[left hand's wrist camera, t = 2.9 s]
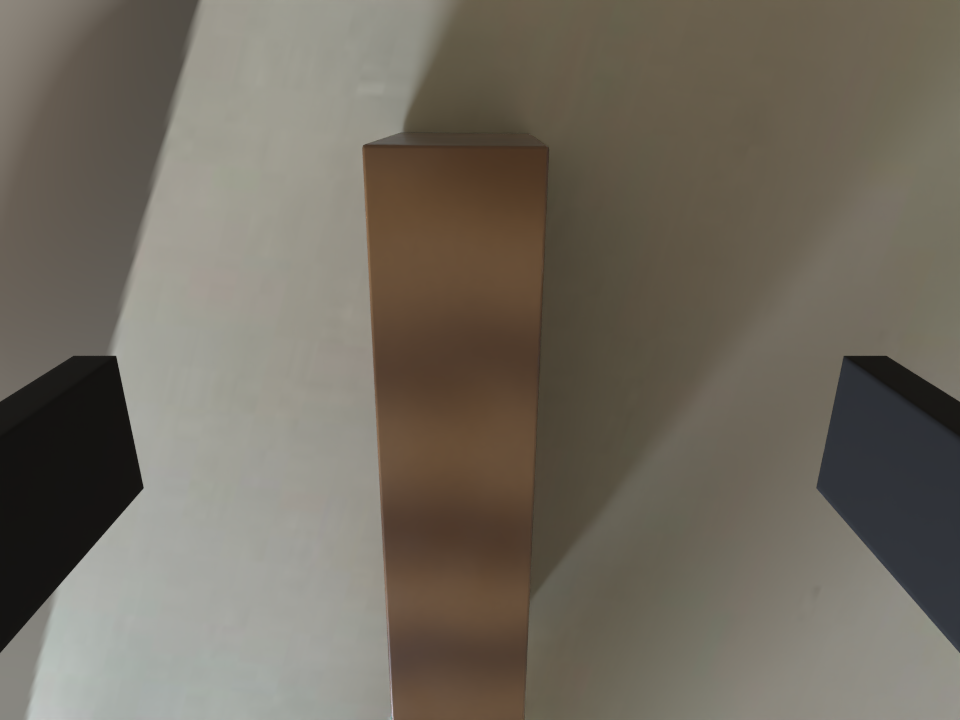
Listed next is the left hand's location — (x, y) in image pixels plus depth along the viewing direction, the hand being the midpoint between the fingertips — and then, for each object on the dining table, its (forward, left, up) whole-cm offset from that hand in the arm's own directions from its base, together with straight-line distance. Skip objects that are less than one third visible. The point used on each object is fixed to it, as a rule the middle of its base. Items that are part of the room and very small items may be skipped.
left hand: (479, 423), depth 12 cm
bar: (+7, +1, -16) cm, 18 cm away
